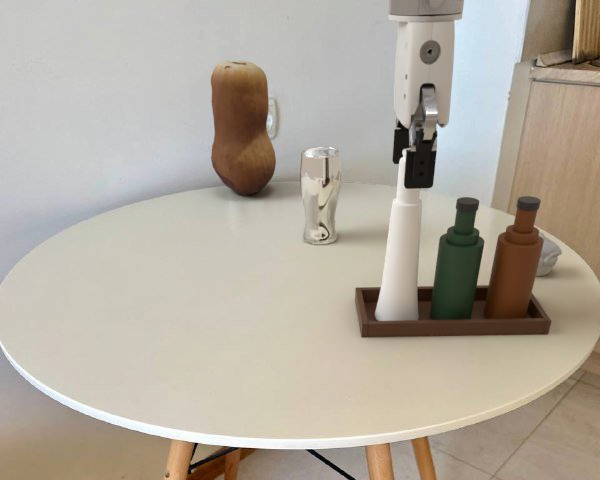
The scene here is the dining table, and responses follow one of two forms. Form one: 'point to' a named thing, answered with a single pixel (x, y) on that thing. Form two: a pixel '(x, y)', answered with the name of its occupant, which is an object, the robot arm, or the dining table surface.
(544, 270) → the frog figurine
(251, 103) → the butternut squash
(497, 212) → the dining table surface
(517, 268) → the amber bottle
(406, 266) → the cosmetic bottle
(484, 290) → the tray
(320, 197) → the beer glass
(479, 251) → the green bottle
